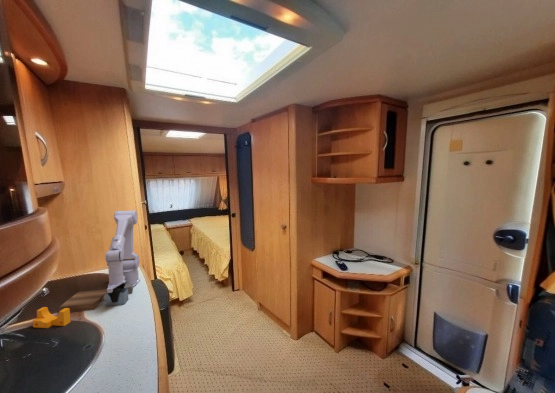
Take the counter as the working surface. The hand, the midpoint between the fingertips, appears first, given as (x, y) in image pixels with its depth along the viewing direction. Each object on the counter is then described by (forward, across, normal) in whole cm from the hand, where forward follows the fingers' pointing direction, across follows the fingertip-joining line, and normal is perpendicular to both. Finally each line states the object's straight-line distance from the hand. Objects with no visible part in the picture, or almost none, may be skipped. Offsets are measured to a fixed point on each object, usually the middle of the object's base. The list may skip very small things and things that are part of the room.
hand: (117, 299), depth 111 cm
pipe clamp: (+2, -13, +19) cm, 23 cm away
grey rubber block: (+2, +10, -1) cm, 10 cm away
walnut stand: (+2, +3, +15) cm, 15 cm away
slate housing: (+2, 0, 0) cm, 2 cm away
